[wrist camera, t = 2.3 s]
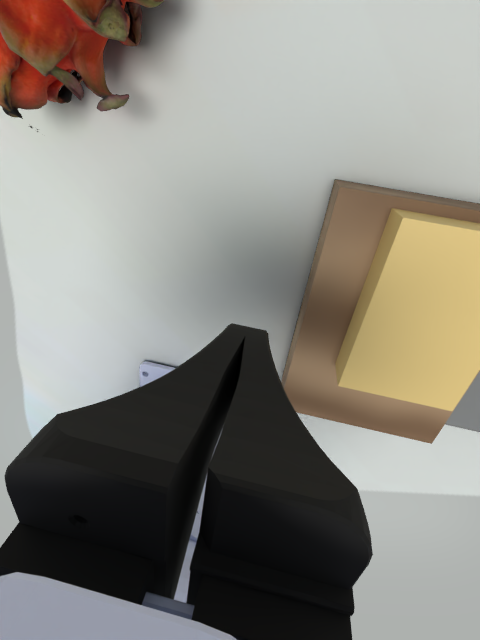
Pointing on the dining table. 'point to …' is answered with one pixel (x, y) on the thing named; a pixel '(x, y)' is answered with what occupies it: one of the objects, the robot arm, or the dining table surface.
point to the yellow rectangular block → (417, 313)
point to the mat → (468, 409)
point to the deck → (339, 305)
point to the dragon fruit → (61, 49)
